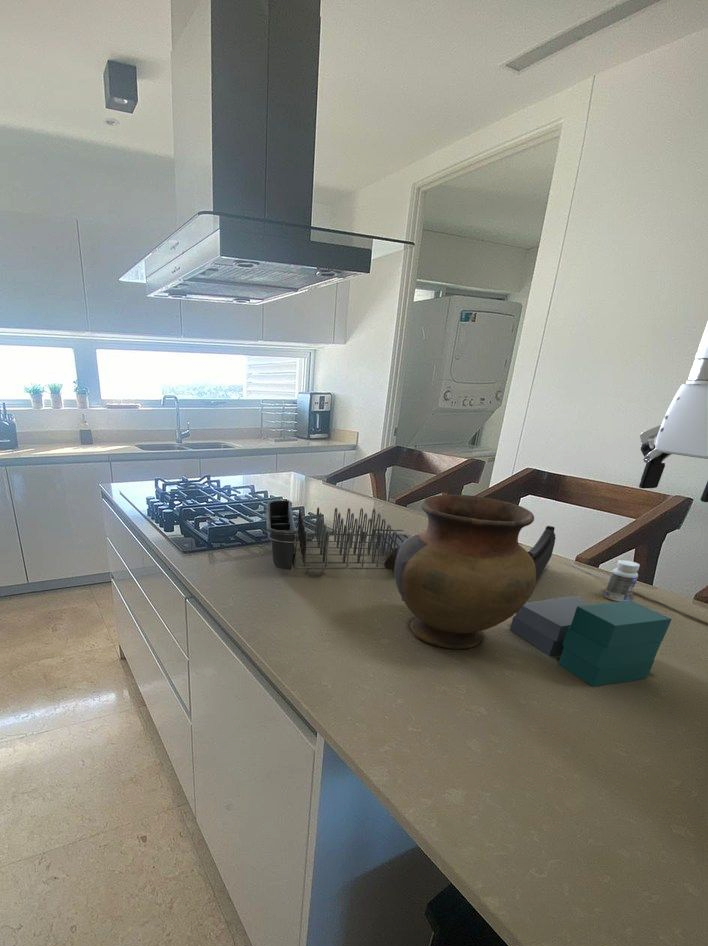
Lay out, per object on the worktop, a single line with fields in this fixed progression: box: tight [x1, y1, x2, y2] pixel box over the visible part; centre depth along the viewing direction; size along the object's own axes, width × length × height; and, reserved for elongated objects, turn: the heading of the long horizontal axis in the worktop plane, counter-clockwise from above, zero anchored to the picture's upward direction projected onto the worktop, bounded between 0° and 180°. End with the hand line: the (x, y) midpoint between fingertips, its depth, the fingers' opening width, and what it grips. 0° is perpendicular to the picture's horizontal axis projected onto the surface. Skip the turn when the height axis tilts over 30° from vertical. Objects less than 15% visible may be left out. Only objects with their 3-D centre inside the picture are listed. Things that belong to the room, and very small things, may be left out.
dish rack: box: [265, 499, 412, 577], centre depth 128 cm, size 34×44×12 cm
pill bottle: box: [604, 559, 641, 602], centre depth 108 cm, size 5×5×8 cm
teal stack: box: [558, 627, 662, 687], centre depth 80 cm, size 11×7×7 cm, turn 104°
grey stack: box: [509, 595, 593, 657], centre depth 90 cm, size 14×10×6 cm
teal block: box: [570, 599, 672, 648], centre depth 78 cm, size 11×7×4 cm, turn 104°
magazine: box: [527, 525, 556, 582], centre depth 115 cm, size 17×3×30 cm
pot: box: [383, 494, 537, 650], centre depth 87 cm, size 25×24×25 cm
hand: (677, 494), depth 76 cm, fingers open, 9 cm apart
